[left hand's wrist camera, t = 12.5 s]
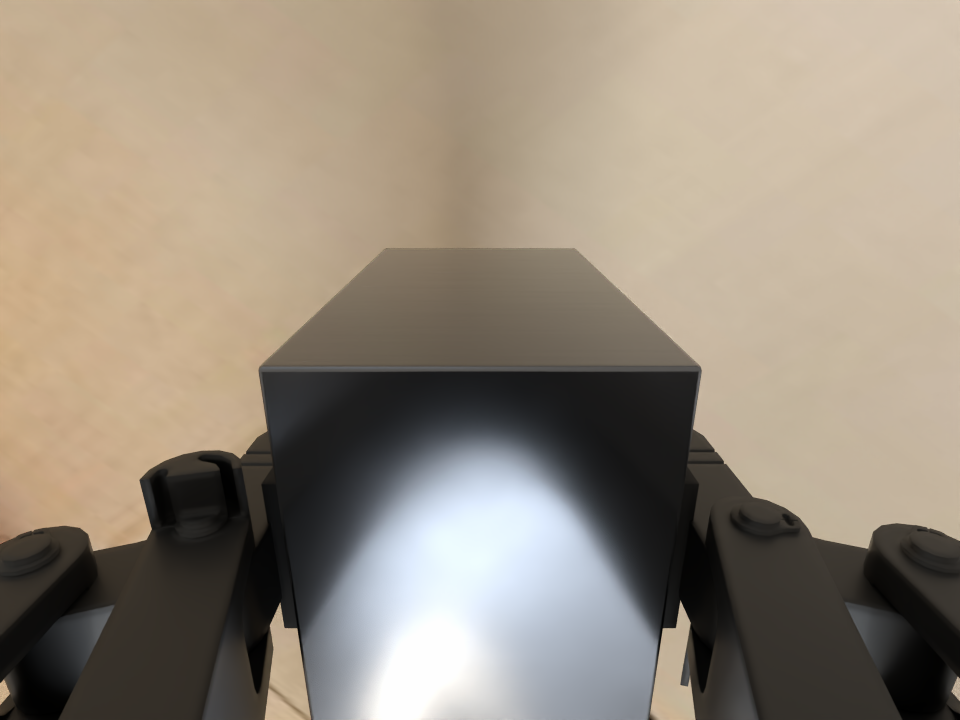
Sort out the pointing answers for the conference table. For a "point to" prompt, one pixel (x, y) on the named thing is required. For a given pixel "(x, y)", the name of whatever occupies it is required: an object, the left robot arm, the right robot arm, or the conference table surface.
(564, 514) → the bar
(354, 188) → the conference table surface
